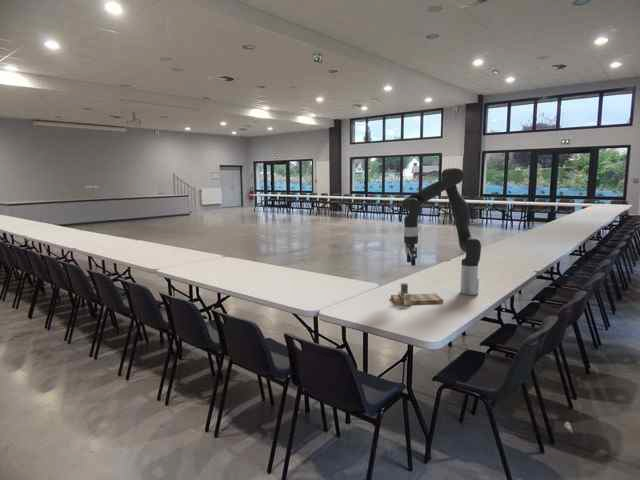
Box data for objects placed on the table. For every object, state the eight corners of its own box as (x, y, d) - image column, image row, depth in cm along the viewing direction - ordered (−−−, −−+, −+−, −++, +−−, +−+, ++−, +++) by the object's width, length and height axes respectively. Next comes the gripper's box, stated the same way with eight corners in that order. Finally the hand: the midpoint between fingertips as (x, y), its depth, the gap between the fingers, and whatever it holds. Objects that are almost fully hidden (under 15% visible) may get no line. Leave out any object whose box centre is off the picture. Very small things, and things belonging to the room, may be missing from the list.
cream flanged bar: (404, 296, 233) (404, 280, 232) (411, 305, 218) (412, 288, 217) (397, 297, 233) (397, 280, 232) (404, 305, 218) (404, 288, 216)
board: (435, 296, 233) (435, 293, 233) (442, 303, 222) (443, 299, 221) (390, 298, 232) (390, 294, 232) (396, 304, 220) (396, 301, 220)
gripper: (421, 236, 214) (421, 266, 217) (414, 232, 228) (414, 260, 231) (407, 237, 214) (407, 267, 217) (400, 233, 228) (401, 261, 231)
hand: (411, 263), depth 224 cm, fingers open, 8 cm apart
